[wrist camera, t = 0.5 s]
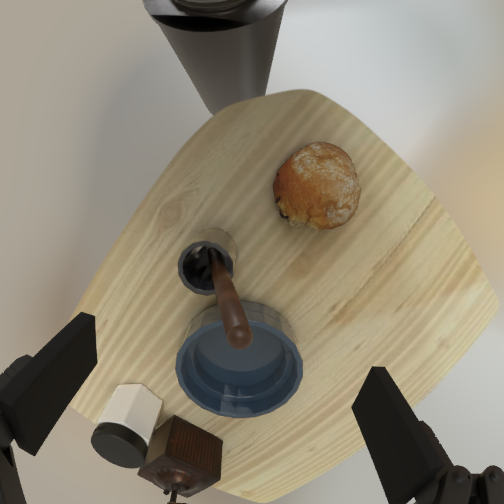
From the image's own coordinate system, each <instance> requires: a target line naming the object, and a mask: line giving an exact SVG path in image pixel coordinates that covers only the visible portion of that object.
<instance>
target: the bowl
mask: <svg viewBox="0 0 504 504" xmlns="http://www.w3.org/2000/svg"><path fill="white" fill-rule="evenodd" d="M240 303H241V305H242V308H243V310H244V313H245V315H246V318H247V320H248V323H249V325H250V328H251V330H252V333H253V340H252V343H251V344H250V345H249V346H248V347H247V348H245V349H241V350H240V349H235V348H233V347H231V346H230V345H229V343H228V341H227V338H226V334H225V330H224V326H223V322H222V318H221V313H220V309H219V305H215V306H212V307H210V308H207V309H205V310H204V311H203V312H202V313H201V314H199V315H198V316H197V317H196V318H195V319H193V321H192V322H191V324H190V326H189V327H188V329H187V331H186V333H185V335H184V337H183V340H182V343H181V345H180V348H179V351H178V353H177V359H176V367H175V370H176V374H177V377H178V381H179V384H180V386H181V387H182V389H183V390H184V392H185V393H186V395H187V396H188V397H189V398H190V399H191V400H192V401H194V402H195V403H196V404H197V405H199V406H200V407H201V408H203V409H205V410H208V411H210V412H212V413H215V414H217V415H221V416H226V417H232V418H250V417H257V416H260V415H263V414H267V413H270V412H272V411H274V410H276V409H277V408H279V407H280V406H282V405H284V404H285V403H287V401H288V400H289V399H290V398H291V397H292V396H293V395H294V394H295V393H296V391H297V389H298V387H299V384H300V382H301V380H302V377H303V361H302V357H301V354H300V350H299V347H298V343H297V340H296V338H295V335H294V333H293V331H292V328H291V326H290V325H289V324H288V323H287V321H286V320H285V319H284V318H283V317H282V316H281V315H280V314H279V313H277V312H276V311H274V310H272V309H270V308H268V307H266V306H264V305H262V304H257V303H252V302H248V301H240Z"/></svg>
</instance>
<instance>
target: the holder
mask: <svg viewBox="0 0 504 504" xmlns="http://www.w3.org/2000/svg"><path fill="white" fill-rule="evenodd" d="M210 247H213V248H215V249H217V250H218V251H219V252H221V253H222V256H223V259H224V261H225V264H226V267H227V269H228V272H229V274H230V277H231V279H232V277H233V274H234V268H235V261H236V244H235V242H234V240H233V238H232V237H231V235H230V234H228V233H227V232H226V231H224V230H222V229H218V228H210V229H206V230H204V231H202V232H201V233H199V234H198V235H197V236H196V237H195V238H194V239H193V240H192V241H191V242H190V244H189V245H188V246H187V247H186V248H185V249H184V250H183V251H182V253H181V256H180V258H179V261H178V274H179V276H180V278H181V280H182V282H183V284H184V285H185V286H186V287H187V288H189V289H190V290H191V291H193V292H194V293H197V294H202V295H212V294H216V292H215V287H214V283H213V278H212V274H211V269H210V265H209V260H208V255H207V251H208V249H209V248H210Z"/></svg>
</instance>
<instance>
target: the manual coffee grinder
mask: <svg viewBox="0 0 504 504" xmlns="http://www.w3.org/2000/svg"><path fill="white" fill-rule="evenodd" d="M222 445H223V441H222V440H220V439H219V438H218V437H216V436H214V435H212V434H210V433H208V432H206V431H204V430H203V429H201V428H199V427H197V426H195V425H193V424H191V423H189V422H187V421H185V420H183V419H181V418H179V417H177V416H175V415H174V416H173V417H171V418H170V419H168V420H167V421H166V422H165V423H164V424H163V425H162V426H161V427H159V428H158V429H157V430H156V431H155V432H154V434H153V437H152V440H151V443H150V447H149V450H148V453H147V456H146V459H145V462H144V464H143V465H142V466H141V467H140V469H139V472H138V475H139V476H140V477H142V478H144V479H146V480H148V481H150V482H152V483H154V484H155V485H156V486H158V487H160V488H161V489H163V490H164V492H163V493H164V494H165V495H168V494H169V492H172V493H171V499H170V502H168V503H167V504H186V503H176V498H177V494H179V495H182V496H184V497H190V496H192V495H194V494H196V493H198V492H200V491H202V490H204V489H206V488H208V487H210V486H211V485H213V484H215V483H216V482H218V481H219V480H220V478H221V461H222Z"/></svg>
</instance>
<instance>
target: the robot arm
mask: <svg viewBox="0 0 504 504" xmlns="http://www.w3.org/2000/svg"><path fill="white" fill-rule="evenodd" d="M172 1H173V2H174V3H176V4H177V5H179V6H181V7H184V8H186V9H190V10H195V11H205V12H208V11H221V10H226V9H231V8H234V7H237V6H240V5H242V4H244V3H247V2H248V1H250V0H172ZM96 365H97V349H96V330H95V316H93V315H90V314H87V313H84V312H80V313H79V314H78V315H77V316H76V317H75V318H74V319H73V320H72V321H71V322H70V323H68V324H67V325H66V326H65V327H64V328H63V329H62V330H61V331H60V332H59V333H58V334H57V335H56V336H55V337H54V338H52V339H51V341H49V342H48V343H47V344H46V345H45V346H44V347H43V348H42V349H41V350H40V351H39V352H38V353H37V354H36V355H35V356H34V357H31V356H29V355H25V356H22V357H20V358H18V359H16V360H15V361H14V362H13V363H12V364H11V365H10V367H8V368H7V369H6V370H5V371H4V373H2V374H1V375H0V504H27V503H26V500H25V497H24V494H23V490H22V487H21V484H20V480H19V476H18V472H17V468H16V463H15V459H14V455H13V449H12V446H11V442H12V441H13V439H15V441H16V443H17V445H18V446H19V448H21V449H23V450H24V451H26V452H28V453H29V454H31V455H33V456H35V455H36V454H37V452H38V450H39V449H40V447H41V446H42V444H43V442H44V441H45V439H46V438H47V436H48V434H49V433H50V431H51V430H52V428H53V427H54V425H55V424H56V422H57V421H58V419H59V418H60V416H61V415H62V413H63V412H64V410H65V409H66V407H67V406H68V404H69V403H70V402H71V400H72V399H73V397H74V396H75V394H76V393H77V391H78V390H79V389H80V387H81V386H82V384H83V383H84V381H85V380H86V379H87V377H88V376H89V374H90V373H91V372H92V370H93V369H94V367H95V366H96ZM351 408H352V410H353V413H354V415H355V418H356V420H357V423H358V425H359V427H360V430H361V432H362V435H363V437H364V440H365V443H366V445H367V447H368V450H369V453H370V455H371V458H372V460H373V463H374V465H375V468H376V471H377V473H378V476H379V479H380V481H381V484H382V486H383V489H384V492H385V495H386V497H387V500H388V503H389V504H406V503H408V502H409V501H410V500H411V499H412V498H413V497H414V498H415V500H416V502H415V503H414V504H504V472H503V471H502V469H501V468H499V467H497V466H494V465H493V466H489V467H487V468H486V469H485V470H484V471H483V472H482V473H481V474H471V473H470V472H469V471H468V470H467V469H466V468H465V467H463V466H458V465H456V466H454V465H453V464H452V462H451V460H450V459H449V457H448V455H447V454H446V452H445V450H444V449H443V447H442V445H441V444H439V440H438V439H437V437H435V434H434V433H433V431H432V429H431V428H430V427H429V426H428V425H427V424H426V423H425V422H424V421H419V420H418V419H417V417H416V415H415V414H414V412H413V411H412V409H411V407H410V406H409V404H408V403H407V401H406V399H405V398H404V396H403V395H402V393H401V392H400V390H399V388H398V387H397V385H396V384H395V382H394V381H393V379H392V378H391V376H390V374H389V373H388V371H387V370H386V368H385V367H375V366H372V367H371V369H370V371H369V373H368V376H367V378H366V380H365V382H364V384H363V386H362V388H361V390H360V392H359V394H358V396H357V397H356V399H355V401H354V403H353V405H352V407H351Z"/></svg>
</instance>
